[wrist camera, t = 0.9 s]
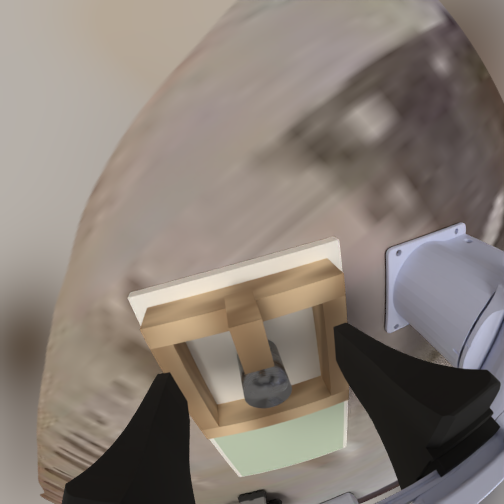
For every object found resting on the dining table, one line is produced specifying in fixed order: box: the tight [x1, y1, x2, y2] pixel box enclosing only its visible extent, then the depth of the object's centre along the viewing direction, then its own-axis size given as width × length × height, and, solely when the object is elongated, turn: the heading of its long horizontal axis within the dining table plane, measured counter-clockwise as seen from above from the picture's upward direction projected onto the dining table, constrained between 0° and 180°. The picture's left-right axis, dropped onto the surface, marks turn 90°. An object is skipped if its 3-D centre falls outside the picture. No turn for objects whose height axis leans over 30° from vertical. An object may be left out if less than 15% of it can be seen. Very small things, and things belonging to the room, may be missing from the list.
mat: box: [214, 402, 344, 476], centre depth 24 cm, size 13×13×1 cm
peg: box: [237, 339, 292, 408], centre depth 18 cm, size 3×3×4 cm
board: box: [128, 236, 348, 477], centre depth 22 cm, size 14×28×1 cm, turn 13°
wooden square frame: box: [140, 258, 349, 439], centre depth 17 cm, size 12×13×6 cm
